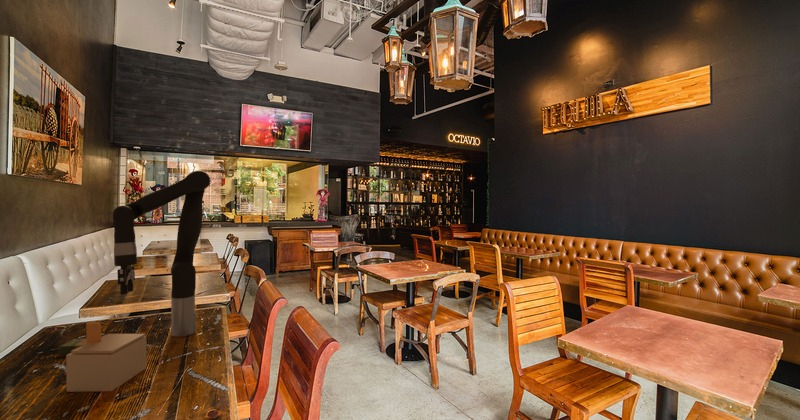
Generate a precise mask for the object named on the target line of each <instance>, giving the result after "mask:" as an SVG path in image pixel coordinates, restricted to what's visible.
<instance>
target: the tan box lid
mask: <svg viewBox="0 0 800 420" xmlns="http://www.w3.org/2000/svg"><path fill="white" fill-rule="evenodd" d="M85 328H86V329H85V333H86V334H85V335H86V336H85V338H86V343H87V344H85V345H83V346H81V347H79V348H76V349H74V350H72V351H71V354H82V353H114V352H116V351H118V350H120V349H122V348H124V347H125V346H127V345H129V344H131V343H133V342H135V341H137V340H139V339H140V338H142V337H144V336H146V333H107V334H105V335H103V336H102V321H96V322H95V321H93V322H91V321H90V322H89V321H88V322H87V323H86V324H85Z"/></svg>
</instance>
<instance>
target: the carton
mask: <svg viewBox="0 0 800 420" xmlns="http://www.w3.org/2000/svg"><path fill="white" fill-rule="evenodd" d="M85 344H87V343H86V337H82V338H81V337H79V338H73V339H71V340H69V341H67V342H65V343H63V344H61V345H59V346H58V356H66V355H68V354H70V353H71V351H72V350H74V349H76V348H79V347H81V346H83V345H85Z"/></svg>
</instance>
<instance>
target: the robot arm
mask: <svg viewBox="0 0 800 420" xmlns="http://www.w3.org/2000/svg"><path fill="white" fill-rule="evenodd" d="M210 184H211V177H210V175H209V174H208V173H207V172H205V171H202V170H195V171H194V170H193V171H191V172H189V173H188V174H187V176H185V178H183V179H181V180H179V181H177V182H175V183H173V184H171V185H168V186H165V187H163V188H161V189H157V190H155V191H152V192H150V193H147V194H145V195H142V197H139V198H137V199H136V200H135V201H133V202H130V203H128V204H124V205H119V206H117V207H115V209H114V210H113V211H112V222H113V229H114V233H113V243H114V245H113V246H114V247H113V261H114V263H113V264H114V267H120V268H118V269H117V284H118V285H119V289H120V291H119V293H120V295H121V296H122V295H124V296H125V295H127V294H128V293H130V292H133V291H134V282H135V280H136V275H135V273H136V272H135V265H137V264H138V252H137V251H138V250H137V244H136V231H135V220H137V219H138V218H140V217H141V216H143V215H145V214H148V213H151V212H152V211H155V210H157V209H160V208H161V207H163V206H165V205H167V204H169V203H171V202H173V201H175V200H177V199H179V198H181V197H184V200H183V203H182V208H181V213H180V218H179V221H178V228H177V235H176V236H177V237H176V249H175V254H174V258H173V262H172V264H171V268H170V275H171V292H170V293H171V294H170V295H171V296H170V297H171V303H170V304H171V307H170V308H171V318H170V319H171V330H170V331H171V336H172V337H174V338H180V337H186V336H187V337H188V336H190V335H194V334H196V333H197V330H196V329H197V328H196V321H197V319H196V284H197V281H196V280H197V276H196V275H197V274H196V271H197V270H196V267H195V265H194V259H195V258H194V257H195V256H194V255H195V251H196V250H195V249H196V246H197V244H198V241H199V238H200V235H201V232H202V226H203V200H204V199H203V198H204V194H205V191H206V189H208V187H209V186H210ZM133 265H134V266H133Z"/></svg>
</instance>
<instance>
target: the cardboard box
mask: <svg viewBox="0 0 800 420" xmlns="http://www.w3.org/2000/svg"><path fill="white" fill-rule="evenodd" d="M65 356H66V359H65V361H66V392H68V393H69V392H113V391H114V390H116V389H117V388H118V387H119V388H120V386H122V385H123V384H125V383H126V382H128V381H129V380H131V379H133V378H134V377H135V376H137V375H138V374H140V373H141V372H142V371H145V370H146V369H147V335H145V336H144V337H142V338H140V339H139V340H137V341H135V342H133V343H131V344H129V345H127V346H125V347H124V348H122V349H120V350H118V351H116V352H114V353H82V354H71V353H70V354H68V355H65Z"/></svg>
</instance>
